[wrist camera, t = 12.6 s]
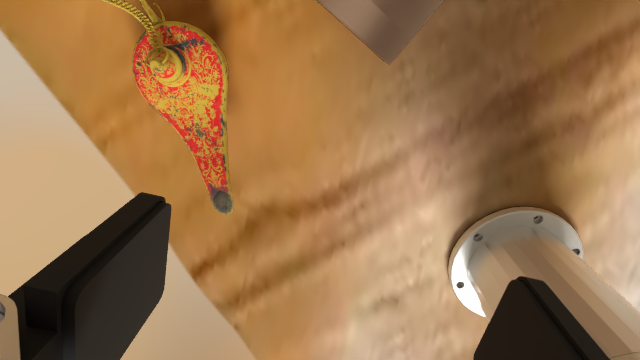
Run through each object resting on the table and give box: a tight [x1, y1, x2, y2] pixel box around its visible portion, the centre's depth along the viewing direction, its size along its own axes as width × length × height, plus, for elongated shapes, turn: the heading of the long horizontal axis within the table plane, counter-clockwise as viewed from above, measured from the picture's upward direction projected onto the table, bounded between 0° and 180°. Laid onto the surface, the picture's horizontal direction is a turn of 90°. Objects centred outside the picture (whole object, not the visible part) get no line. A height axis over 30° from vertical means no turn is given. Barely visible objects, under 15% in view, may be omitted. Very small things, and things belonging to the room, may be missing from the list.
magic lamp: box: [103, 0, 234, 215], centre depth 27 cm, size 7×18×11 cm, turn 18°
